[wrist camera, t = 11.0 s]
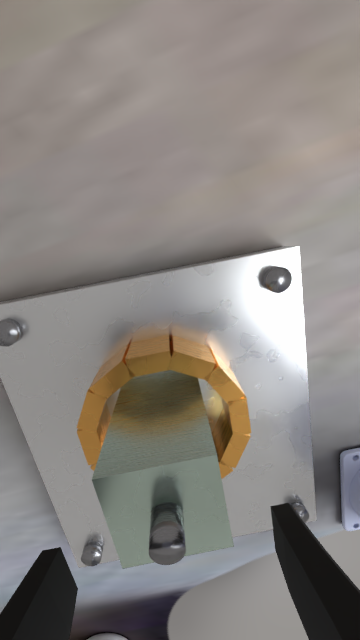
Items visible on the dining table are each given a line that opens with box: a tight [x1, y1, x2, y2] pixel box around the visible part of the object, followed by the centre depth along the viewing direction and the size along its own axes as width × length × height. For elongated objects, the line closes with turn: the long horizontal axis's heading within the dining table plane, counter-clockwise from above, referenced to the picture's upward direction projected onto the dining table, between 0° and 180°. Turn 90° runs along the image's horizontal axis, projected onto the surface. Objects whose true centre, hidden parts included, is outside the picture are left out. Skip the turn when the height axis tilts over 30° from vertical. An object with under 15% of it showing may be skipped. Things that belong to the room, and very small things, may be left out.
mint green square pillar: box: [92, 371, 234, 569], centre depth 12 cm, size 4×4×8 cm
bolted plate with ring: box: [0, 246, 317, 568], centre depth 17 cm, size 18×20×4 cm
